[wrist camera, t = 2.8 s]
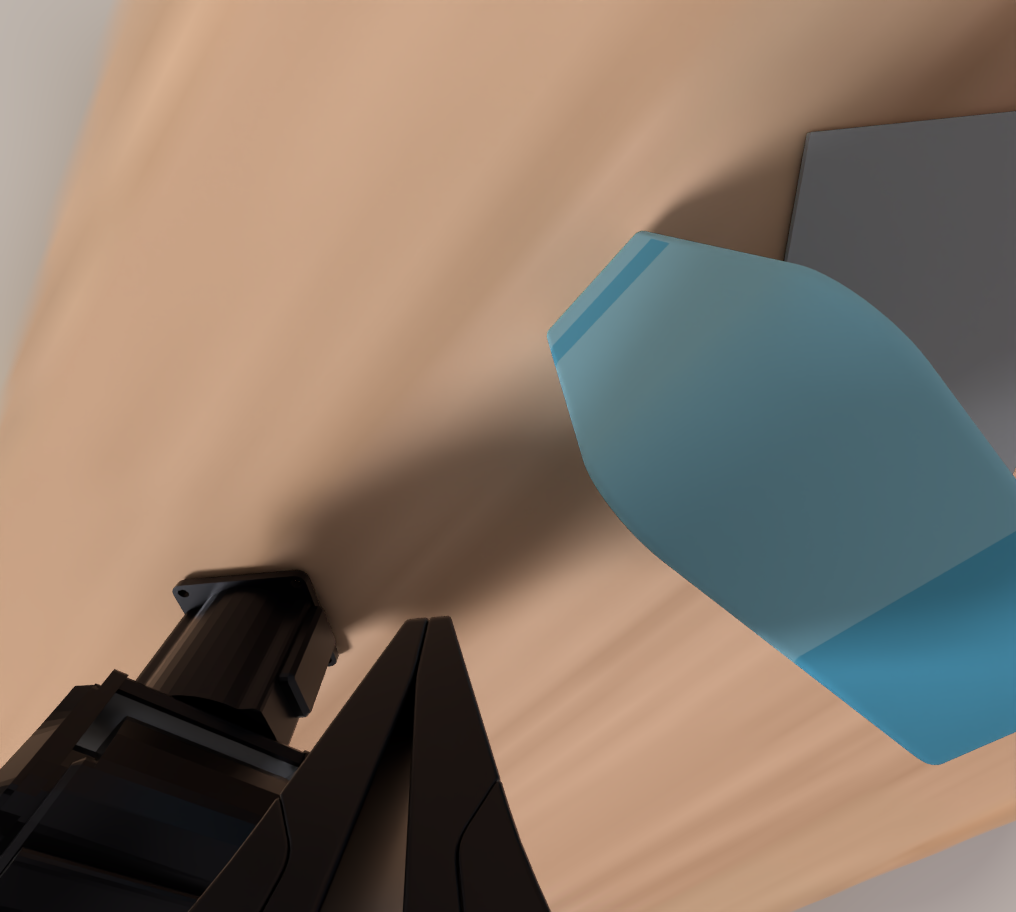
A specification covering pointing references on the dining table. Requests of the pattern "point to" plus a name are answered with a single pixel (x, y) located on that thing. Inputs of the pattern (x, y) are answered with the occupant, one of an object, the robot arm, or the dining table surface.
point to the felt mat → (925, 245)
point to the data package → (803, 479)
